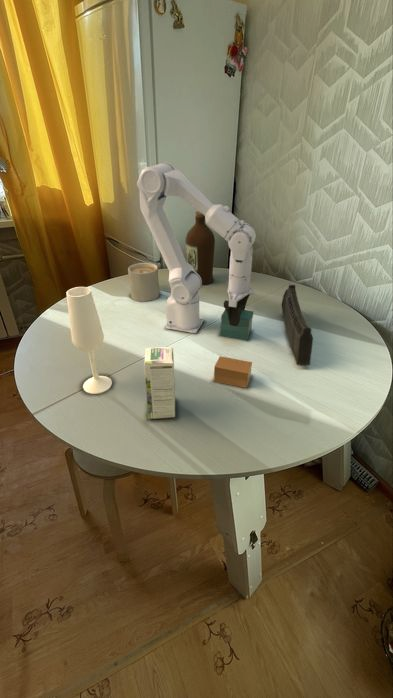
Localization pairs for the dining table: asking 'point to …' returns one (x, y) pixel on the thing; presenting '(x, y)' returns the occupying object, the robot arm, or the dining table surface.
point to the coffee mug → (144, 281)
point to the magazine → (296, 328)
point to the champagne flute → (87, 333)
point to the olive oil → (201, 249)
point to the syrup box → (160, 382)
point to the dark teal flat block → (244, 318)
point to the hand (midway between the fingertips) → (236, 318)
